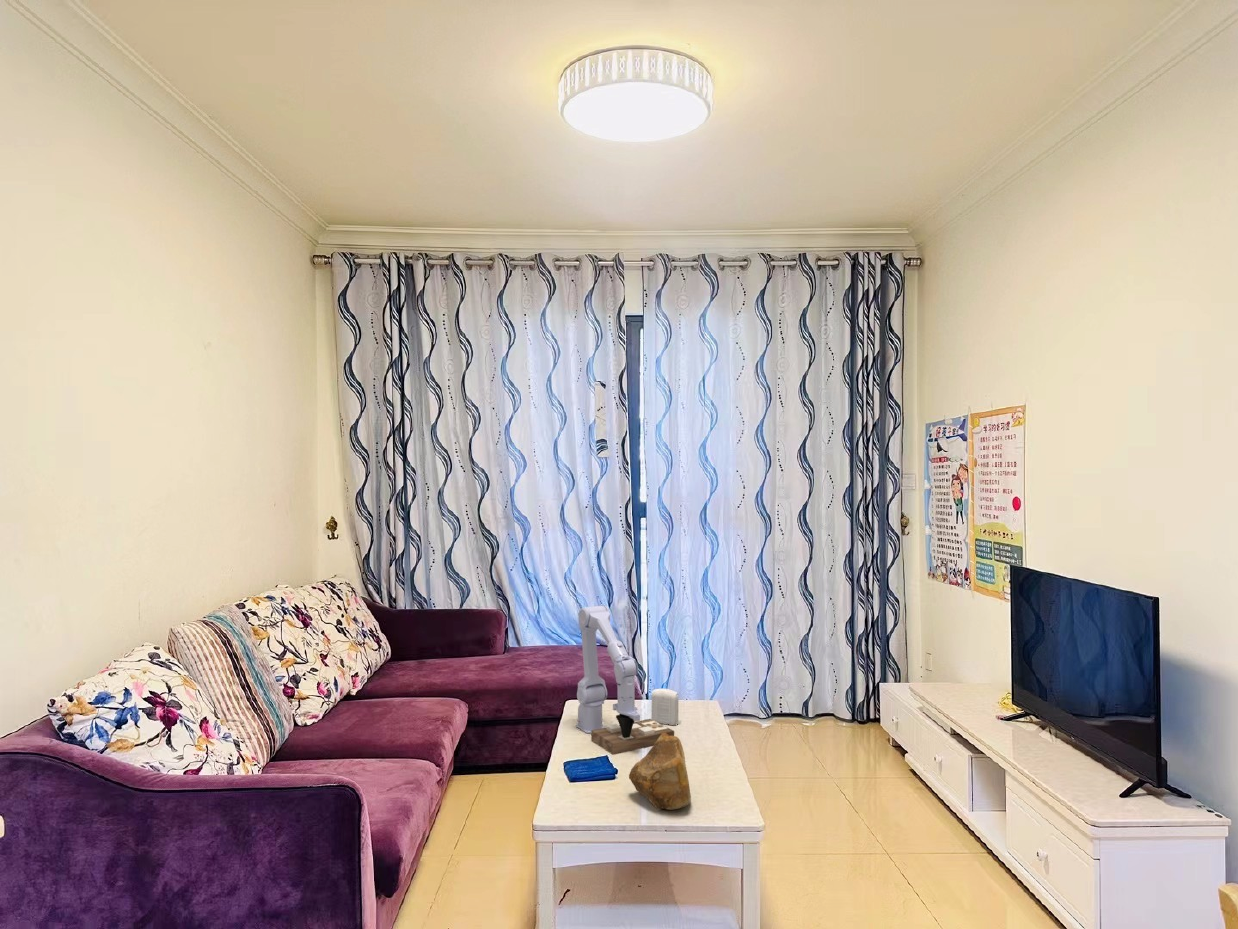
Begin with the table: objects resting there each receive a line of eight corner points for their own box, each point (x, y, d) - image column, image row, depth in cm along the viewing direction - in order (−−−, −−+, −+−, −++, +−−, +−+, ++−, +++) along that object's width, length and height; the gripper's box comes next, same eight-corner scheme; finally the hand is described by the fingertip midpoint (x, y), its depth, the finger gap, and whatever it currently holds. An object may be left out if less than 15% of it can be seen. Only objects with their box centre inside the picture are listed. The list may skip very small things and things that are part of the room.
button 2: (618, 740, 250) (618, 736, 250) (628, 738, 252) (628, 734, 252) (624, 744, 246) (624, 739, 246) (634, 741, 248) (634, 737, 248)
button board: (591, 740, 255) (591, 729, 255) (650, 728, 267) (650, 718, 267) (613, 754, 242) (613, 742, 242) (674, 741, 254) (674, 730, 255)
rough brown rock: (630, 782, 222) (625, 732, 222) (685, 777, 222) (681, 727, 222) (631, 821, 199) (626, 765, 198) (693, 815, 199) (688, 759, 198)
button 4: (638, 732, 254) (638, 728, 254) (648, 730, 256) (648, 726, 256) (644, 736, 250) (644, 731, 250) (654, 733, 252) (654, 729, 252)
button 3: (626, 729, 261) (626, 725, 261) (635, 727, 263) (635, 723, 263) (632, 732, 257) (632, 728, 257) (642, 730, 259) (641, 726, 259)
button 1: (606, 729, 257) (606, 725, 257) (616, 727, 259) (616, 723, 259) (612, 733, 253) (612, 729, 253) (622, 731, 255) (622, 727, 255)
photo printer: (680, 723, 274) (680, 689, 274) (676, 726, 270) (676, 692, 270) (653, 719, 278) (653, 686, 278) (649, 723, 274) (649, 689, 274)
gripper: (647, 699, 245) (648, 741, 245) (625, 689, 257) (625, 728, 257) (629, 703, 241) (629, 745, 241) (607, 692, 254) (607, 732, 254)
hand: (626, 737), depth 249 cm, fingers closed, pressing on button 2
